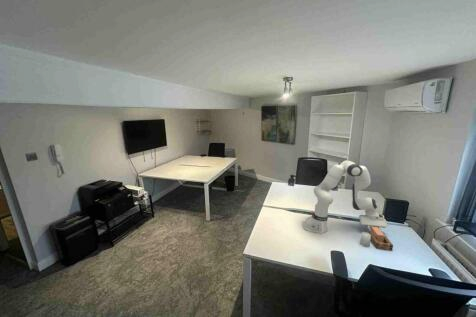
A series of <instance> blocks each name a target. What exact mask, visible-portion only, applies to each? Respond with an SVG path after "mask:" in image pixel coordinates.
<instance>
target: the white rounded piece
mask: <svg viewBox="0 0 476 317" xmlns="http://www.w3.org/2000/svg"><path fill="white" fill-rule="evenodd" d="M370 239H371V235H370V232H366V231H362V232H361V235H360V241H359V243H360V245H361V246H362V247H366V248H367V247H368V248H369V247H370V244H371V241H370Z"/></svg>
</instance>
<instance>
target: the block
mask: <svg viewBox="0 0 476 317" xmlns="http://www.w3.org/2000/svg"><path fill="white" fill-rule="evenodd" d="M370 229H372V231H369V234H373V235H374V236H375V238H376V239H377V240H378V242H381V243H383V242H384V237H385V236H386V235H385V234H384V232H382V231H381V229H379V228H378V227H373V226H370Z"/></svg>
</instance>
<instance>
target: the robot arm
mask: <svg viewBox="0 0 476 317" xmlns="http://www.w3.org/2000/svg"><path fill="white" fill-rule="evenodd" d="M346 174H347V175H349V176H350V177H354V179H355V182H354V183H353V184H352V186H351V187H352V192H351V193H352V194H351V195H352V196H351V197H352V200H351V201H352V202H351V206H352V208H353V209H354V210H356V211H361V210H364V213H365V214H360V215H358V218H359V225H361V226H365V227H366V228H367V229H368V231H369V232H370V231H372V229H371V226H373V227H378V228H379V229H380V230H381V229H385V228H387V227H388V222H387V220H386V219H385V215H383V214H382V215H380V214H378V213H379V212H377V208H378V205H377V201H376V199H374V198H372V197H364V198H359V197H358V193H359V192H360V191H361V190H364V189H366V188H368V187H369V186H370V185H371V182H372V179H371V175H370V172H369V170H368V168H367V166H365V165H358V164H357V163H355V162H354V161H352V160H349V159H343V160H341V161H340V162H339V163H338V164H333V165H332V167H330V169H329V171H328V172H327V173H326V175H325V177H324V179H323V180H322V182H320V183H319V185H316V186H315V187H314V188H313V193H314V196H315V197H316V198H317V199H316V200H317V202H316V204H315V205H314V211H310V212H311V213H310V214H311V215H310V216H308V217H306V218H305V220H304V221H302V224H301V226H302V228H303V229H304V230H305V231H307V230H308V232H312V233H316V234H324V233H326V232H328V231H329V228H328V219H329V218H328V217H329V215H328V213H329V207H330V205H332V203H333V201H334V199H333V196H332V194H331V193H330V191H331V190H332V189H334V188H336V187H337V186H338V183H339V182H340V181H341V179H342V177H343V176H344V175H346Z"/></svg>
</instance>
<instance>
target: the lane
mask: <svg viewBox="0 0 476 317" xmlns="http://www.w3.org/2000/svg"><path fill="white" fill-rule="evenodd" d="M369 234H370V233H369ZM370 235H371V239H370V243H371V244H372V245H373V246H374V248H375V249H376V250H384V251H390V252H392V251H393V249H394V245H393V243H392V242H391V240H390V239H389V238H387V236H386V235H385V237H384V242H383V243H381V242H378V240H377V239H376V238H375V236H374V235H373V234H370Z"/></svg>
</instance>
